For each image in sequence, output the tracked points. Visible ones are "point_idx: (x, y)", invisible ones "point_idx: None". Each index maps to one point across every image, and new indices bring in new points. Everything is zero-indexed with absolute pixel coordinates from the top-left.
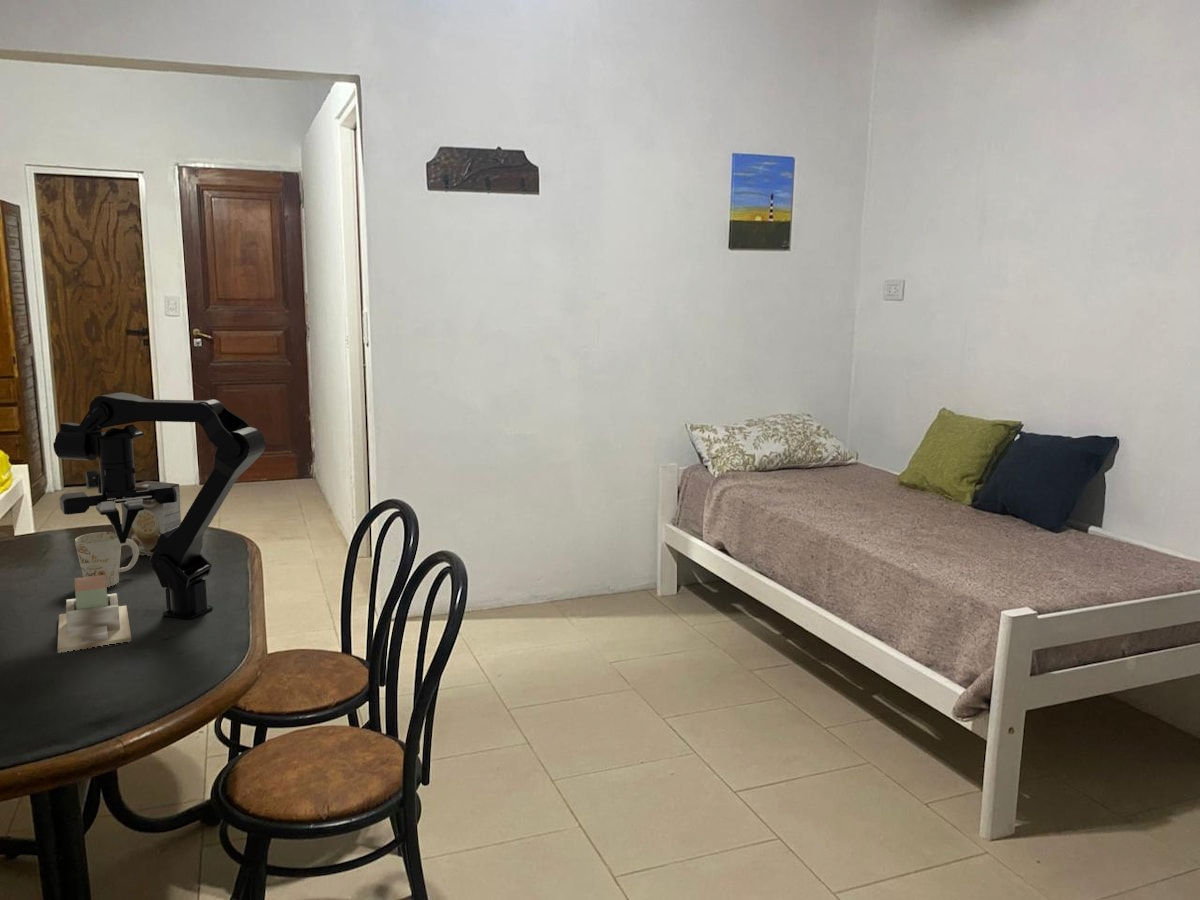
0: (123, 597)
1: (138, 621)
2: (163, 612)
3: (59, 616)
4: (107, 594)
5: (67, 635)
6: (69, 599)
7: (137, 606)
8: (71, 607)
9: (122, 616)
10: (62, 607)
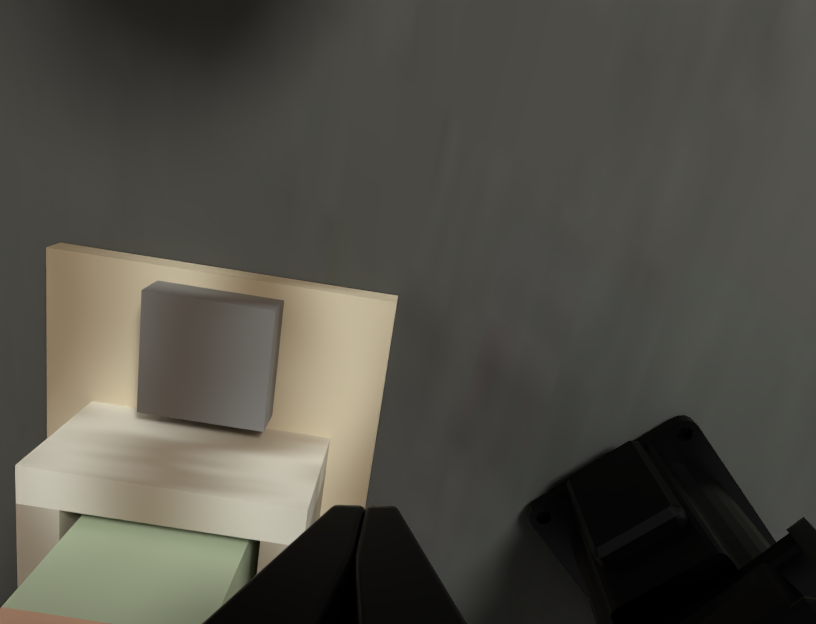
0: (429, 41)
1: (410, 508)
2: (538, 507)
3: (48, 286)
4: (252, 505)
5: None
6: (32, 474)
7: (461, 275)
8: None
9: (344, 470)
10: (74, 30)
